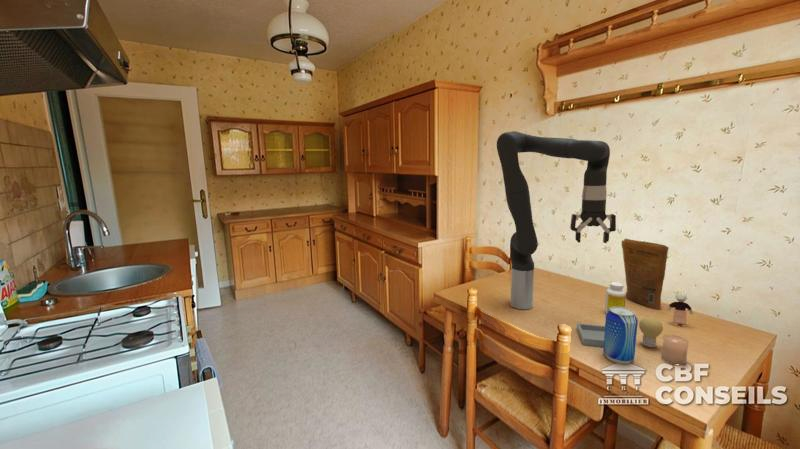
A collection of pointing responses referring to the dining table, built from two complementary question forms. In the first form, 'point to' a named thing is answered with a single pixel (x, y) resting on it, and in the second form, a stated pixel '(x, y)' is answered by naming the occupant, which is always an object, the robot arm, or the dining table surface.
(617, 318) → the beer can
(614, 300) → the supplement bottle
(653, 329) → the light bulb
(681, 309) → the grandmother figurine
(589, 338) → the tray
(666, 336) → the beige rounded block
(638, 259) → the pancake mix bag
